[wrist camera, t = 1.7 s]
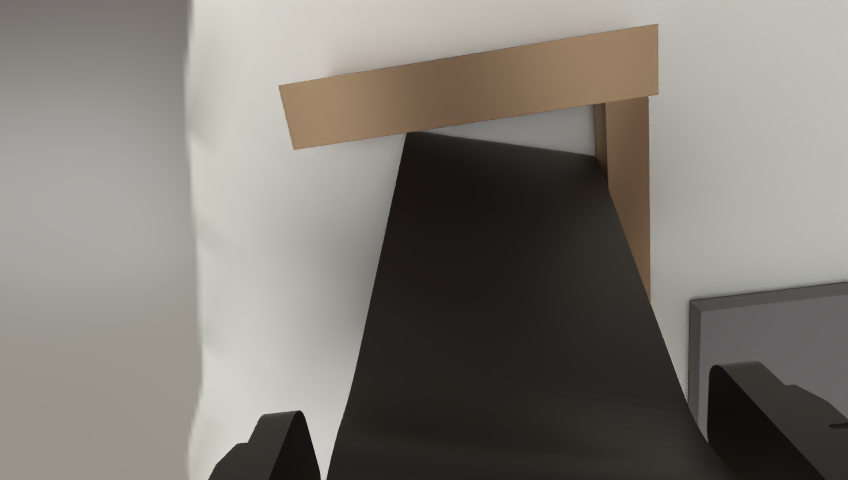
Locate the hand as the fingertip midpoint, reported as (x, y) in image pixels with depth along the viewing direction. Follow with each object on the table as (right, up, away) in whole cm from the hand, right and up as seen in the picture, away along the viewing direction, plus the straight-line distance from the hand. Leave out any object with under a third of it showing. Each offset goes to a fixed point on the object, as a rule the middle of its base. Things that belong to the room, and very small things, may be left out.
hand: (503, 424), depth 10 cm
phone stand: (0, +3, +8) cm, 8 cm away
